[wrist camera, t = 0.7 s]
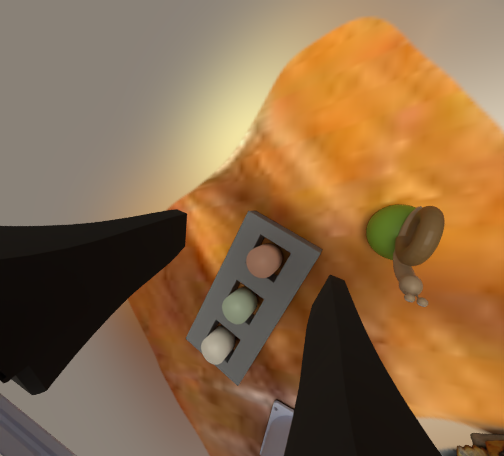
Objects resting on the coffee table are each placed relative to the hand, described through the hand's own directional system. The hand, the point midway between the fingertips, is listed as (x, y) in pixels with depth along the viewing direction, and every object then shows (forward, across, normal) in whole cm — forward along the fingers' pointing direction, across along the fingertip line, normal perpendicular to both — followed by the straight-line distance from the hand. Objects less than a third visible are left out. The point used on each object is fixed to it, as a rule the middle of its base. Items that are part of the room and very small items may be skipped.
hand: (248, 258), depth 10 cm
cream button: (+9, +2, +23) cm, 25 cm away
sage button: (+11, +1, +17) cm, 20 cm away
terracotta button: (+14, +1, +10) cm, 17 cm away
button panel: (+13, +1, +17) cm, 22 cm away
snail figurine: (+17, -11, +3) cm, 20 cm away
